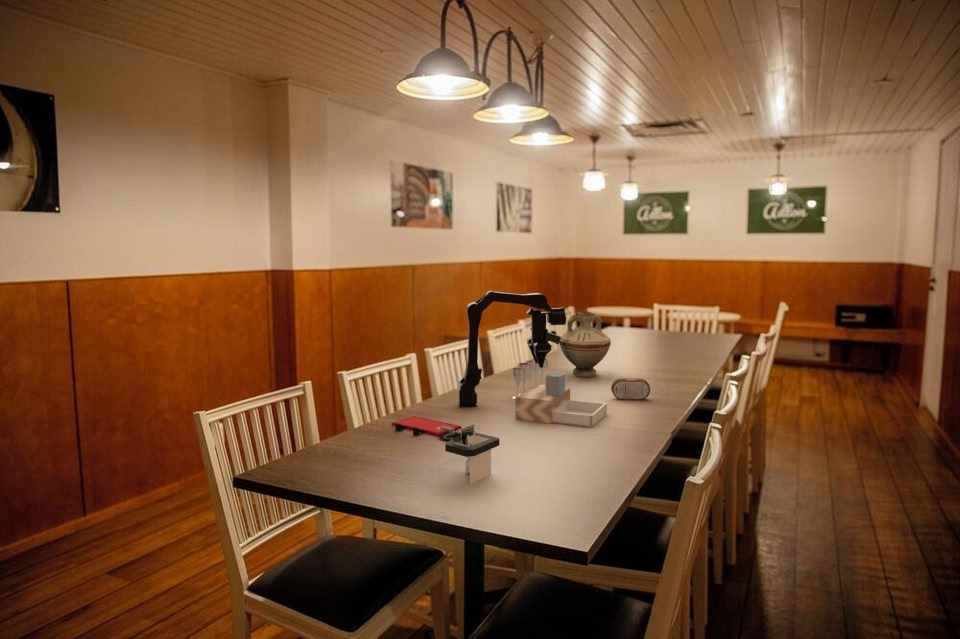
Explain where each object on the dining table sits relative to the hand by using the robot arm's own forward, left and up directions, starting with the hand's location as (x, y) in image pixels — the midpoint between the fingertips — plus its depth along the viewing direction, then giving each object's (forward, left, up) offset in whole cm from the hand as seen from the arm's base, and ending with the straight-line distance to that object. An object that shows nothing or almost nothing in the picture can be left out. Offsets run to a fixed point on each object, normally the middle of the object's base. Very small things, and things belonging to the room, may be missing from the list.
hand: (539, 365), depth 242 cm
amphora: (+31, +46, -15) cm, 57 cm away
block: (+2, -20, -7) cm, 21 cm away
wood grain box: (-2, -17, -15) cm, 23 cm away
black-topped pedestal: (-33, -75, -15) cm, 83 cm away
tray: (+10, -25, -15) cm, 30 cm away
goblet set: (0, +18, -15) cm, 23 cm away
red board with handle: (-43, -31, -15) cm, 55 cm away
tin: (+37, -1, -15) cm, 40 cm away
